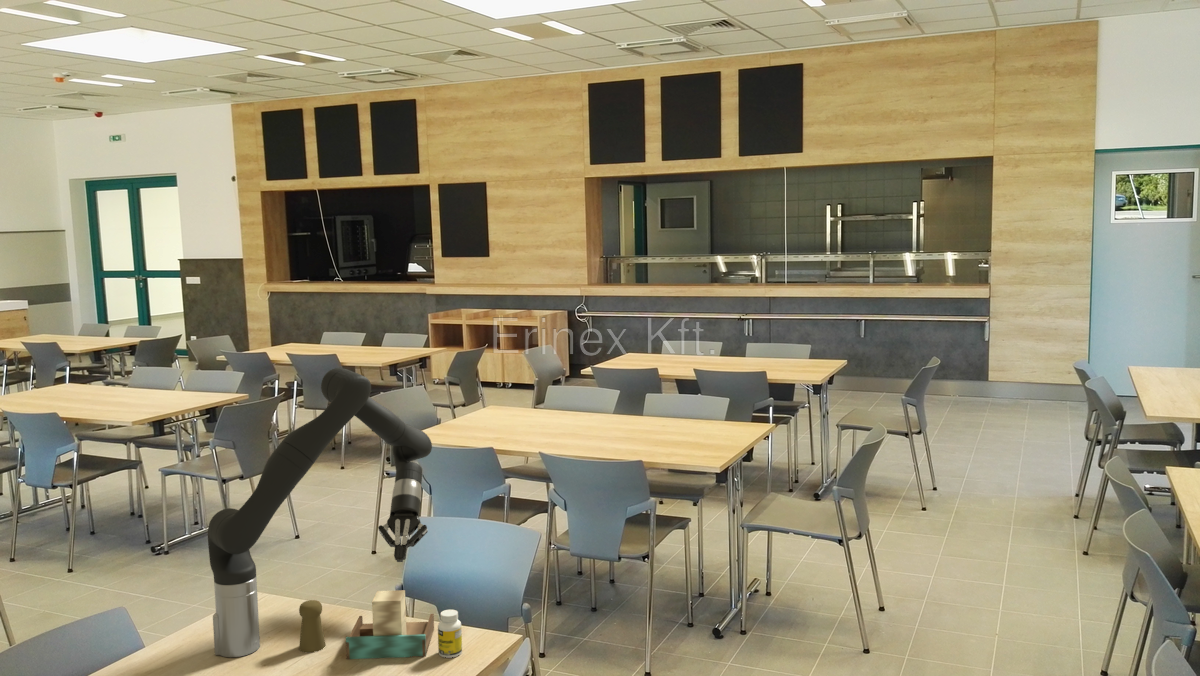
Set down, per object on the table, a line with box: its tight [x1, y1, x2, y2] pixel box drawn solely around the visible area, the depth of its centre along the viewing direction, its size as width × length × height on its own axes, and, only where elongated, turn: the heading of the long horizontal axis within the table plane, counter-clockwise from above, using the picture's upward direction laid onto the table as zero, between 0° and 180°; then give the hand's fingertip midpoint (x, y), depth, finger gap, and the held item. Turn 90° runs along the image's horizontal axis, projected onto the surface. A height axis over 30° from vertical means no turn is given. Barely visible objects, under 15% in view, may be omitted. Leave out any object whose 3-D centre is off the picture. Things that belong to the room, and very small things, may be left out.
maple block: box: [371, 589, 407, 636], centre depth 218 cm, size 6×6×11 cm
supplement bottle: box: [437, 609, 463, 659], centre depth 216 cm, size 5×5×10 cm
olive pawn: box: [298, 599, 327, 653], centre depth 221 cm, size 6×6×11 cm
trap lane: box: [345, 613, 435, 660], centre depth 222 cm, size 18×15×5 cm
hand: (399, 560), depth 236 cm, fingers closed
